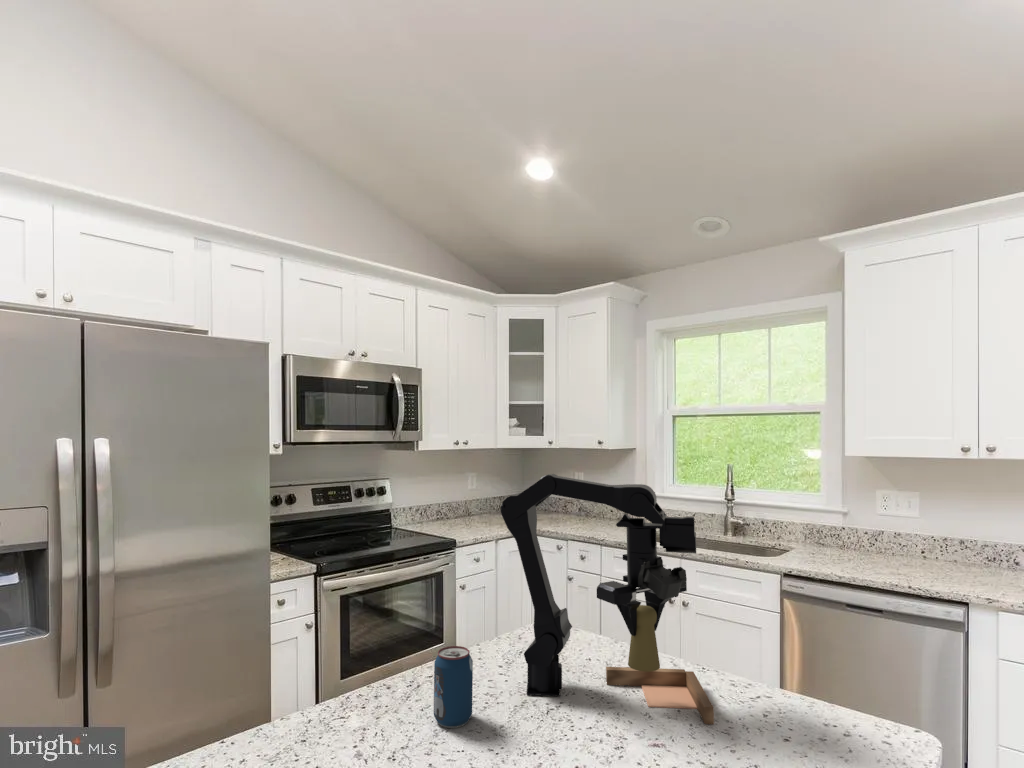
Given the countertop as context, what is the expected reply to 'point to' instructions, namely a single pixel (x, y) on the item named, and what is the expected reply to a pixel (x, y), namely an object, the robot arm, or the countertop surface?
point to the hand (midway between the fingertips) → (643, 632)
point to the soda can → (453, 686)
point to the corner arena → (666, 688)
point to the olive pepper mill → (644, 642)
